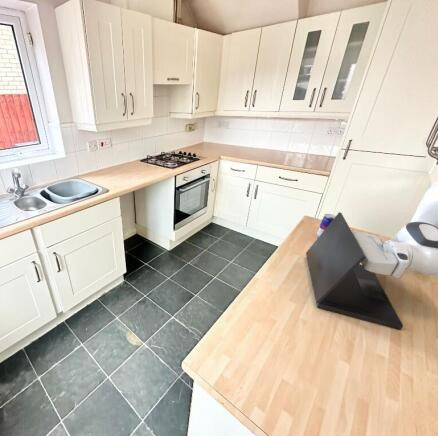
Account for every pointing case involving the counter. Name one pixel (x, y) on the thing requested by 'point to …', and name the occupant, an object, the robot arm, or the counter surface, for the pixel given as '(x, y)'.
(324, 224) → the energy drink
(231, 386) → the counter surface
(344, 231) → the laptop screen
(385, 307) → the laptop
